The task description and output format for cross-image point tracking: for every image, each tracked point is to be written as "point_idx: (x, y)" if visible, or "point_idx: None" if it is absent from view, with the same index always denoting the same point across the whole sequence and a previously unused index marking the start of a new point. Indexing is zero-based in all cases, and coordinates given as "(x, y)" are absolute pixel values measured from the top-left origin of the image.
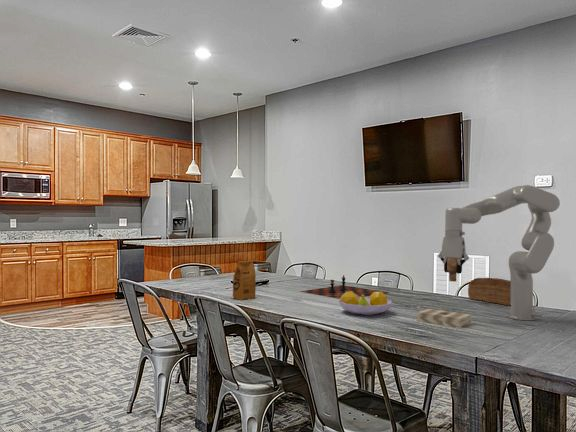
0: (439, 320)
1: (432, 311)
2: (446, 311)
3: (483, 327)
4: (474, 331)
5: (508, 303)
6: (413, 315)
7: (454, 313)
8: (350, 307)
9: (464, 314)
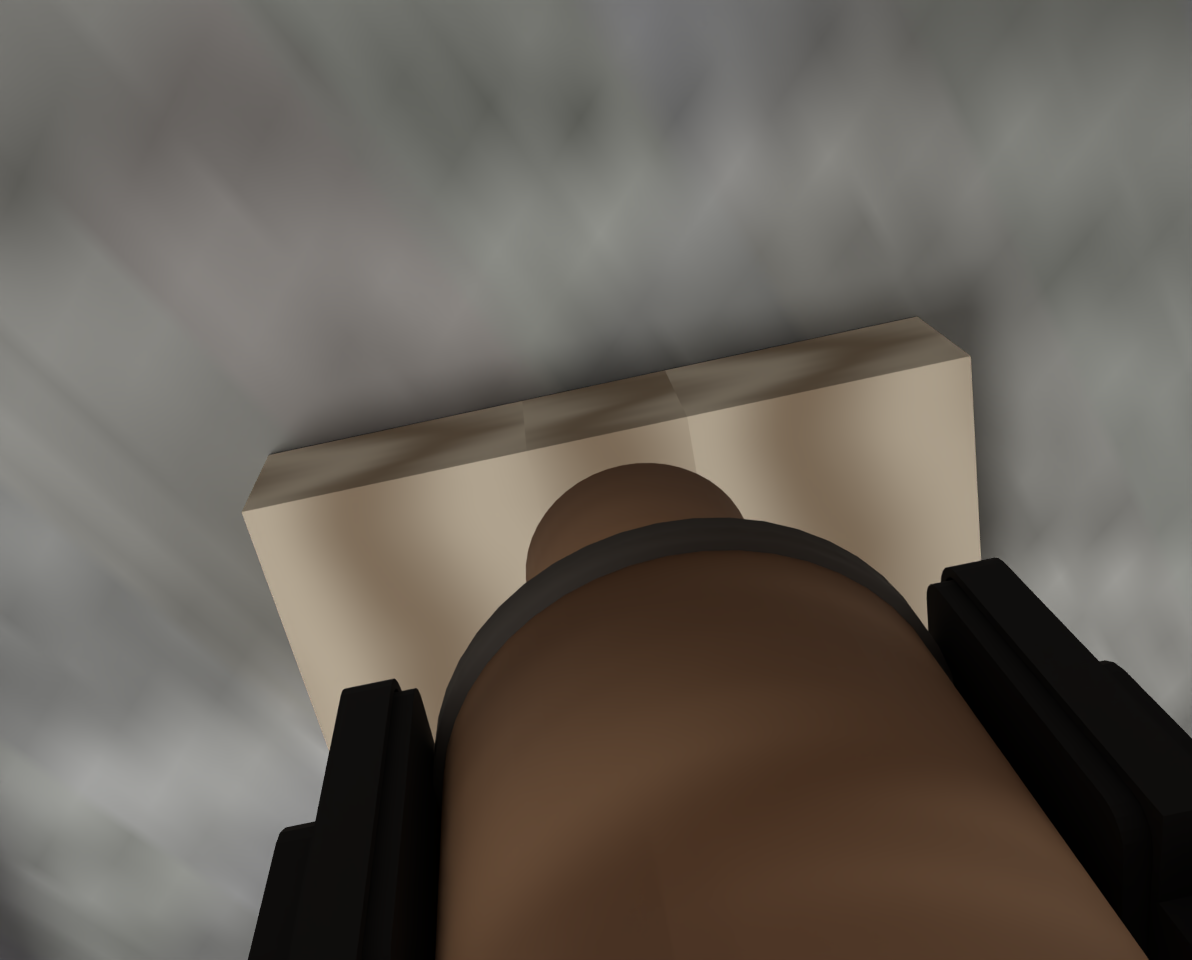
0: None
1: (446, 650)
2: (568, 471)
3: (1133, 371)
4: (1134, 634)
5: None
6: (56, 567)
7: (746, 496)
8: None
9: (889, 429)
